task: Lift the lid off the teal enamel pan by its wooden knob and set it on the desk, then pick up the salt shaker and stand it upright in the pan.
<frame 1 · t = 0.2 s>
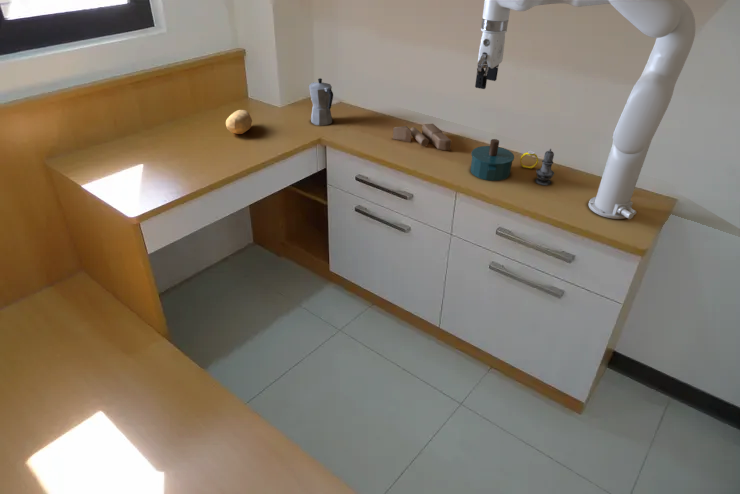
hand: (485, 84, 160), 31 cm above the table, tool pointing down, fingers open, 9 cm apart
pan: (489, 171, 179), on the table
potato: (240, 132, 205), on the table
pan lid: (492, 156, 176), point 6 cm above the table, touching pan
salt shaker: (542, 182, 174), on the table
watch: (527, 168, 182), on the table
wooden block set: (420, 144, 198), on the table
coffeepot: (323, 122, 215), on the table
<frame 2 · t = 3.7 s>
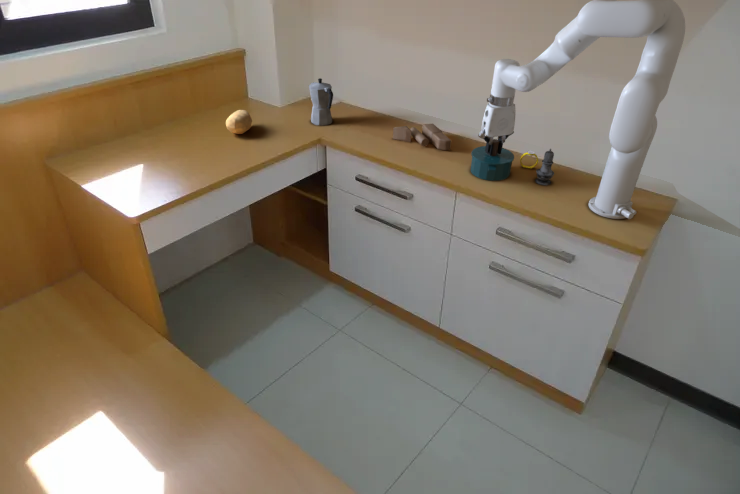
hand: (493, 152, 175), 7 cm above the table, tool pointing down, fingers closed on pan lid, 2 cm apart
pan lid: (492, 156, 176), point 6 cm above the table, touching gripper, pan
everything else where it was.
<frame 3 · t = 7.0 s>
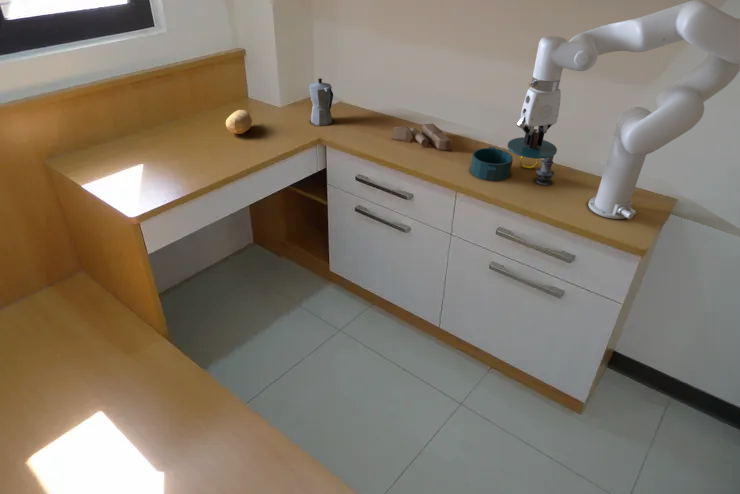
hand: (532, 144, 154), 18 cm above the table, tool pointing down, fingers closed on pan lid, 2 cm apart
pan lid: (531, 148, 155), point 17 cm above the table, touching gripper
everything else where it was.
when the fingers open (2 cm above the table, at t = 10.2 s): pan lid stays where it is, point 1 cm above the table.
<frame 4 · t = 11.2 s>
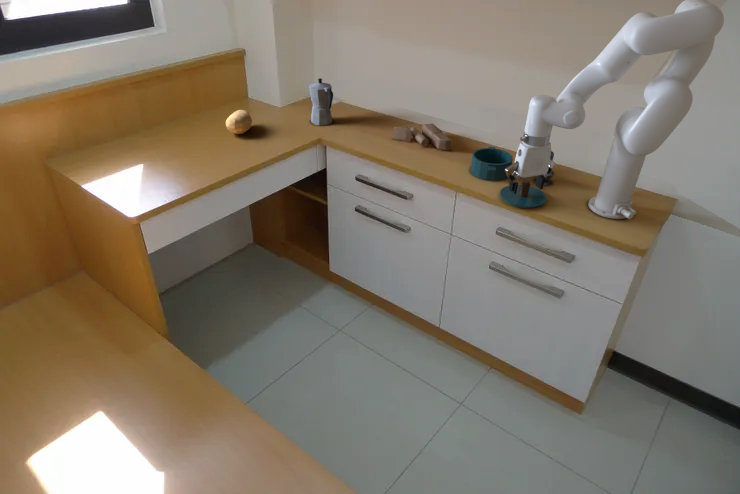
hand: (525, 189, 162), 3 cm above the table, tool pointing down, fingers open, 9 cm apart
pan lid: (522, 196, 163), point 1 cm above the table
everything else where it was.
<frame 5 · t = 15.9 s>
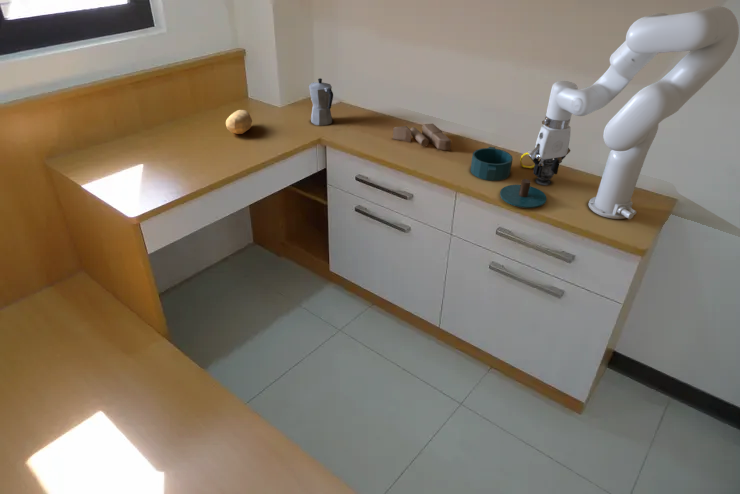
hand: (544, 173, 172), 3 cm above the table, tool pointing down, fingers closed on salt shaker, 5 cm apart
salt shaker: (542, 182, 174), on the table, touching gripper
everything else where it was.
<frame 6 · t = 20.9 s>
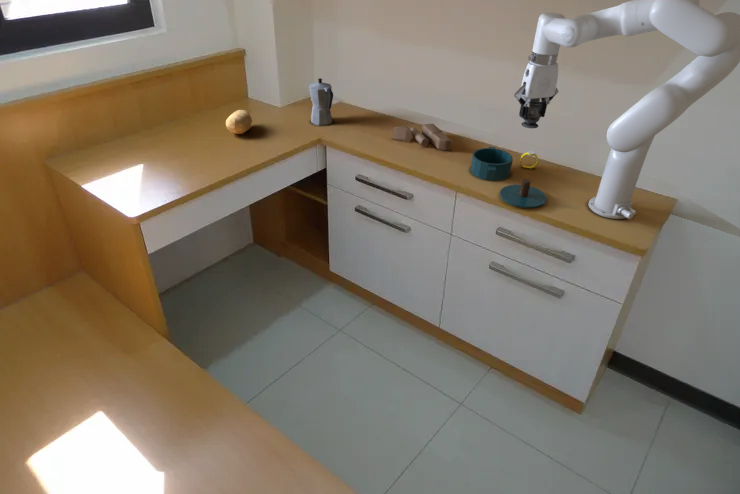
hand: (531, 116, 164), 22 cm above the table, tool pointing down, fingers closed on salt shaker, 5 cm apart
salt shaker: (529, 125, 165), point 18 cm above the table, touching gripper
everything else where it was.
when the fingers open (4 cm above the table, at t = 26.4 s): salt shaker stays where it is, resting on pan.
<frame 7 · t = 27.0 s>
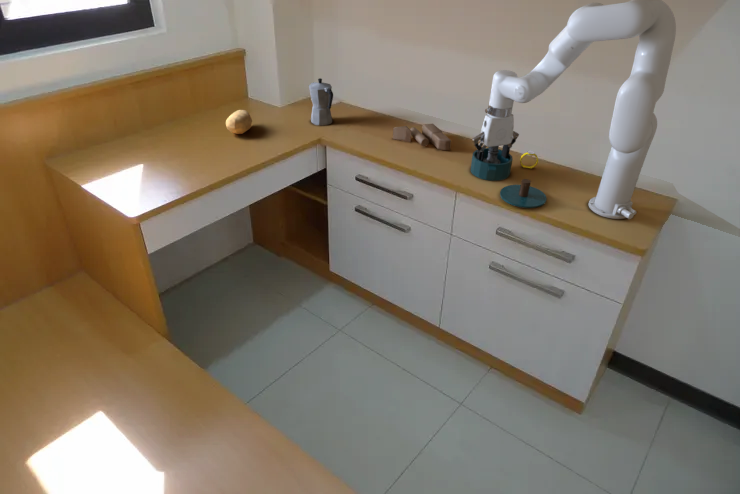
hand: (492, 159, 176), 5 cm above the table, tool pointing down, fingers open, 9 cm apart
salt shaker: (490, 171, 179), resting on pan
everything else where it was.
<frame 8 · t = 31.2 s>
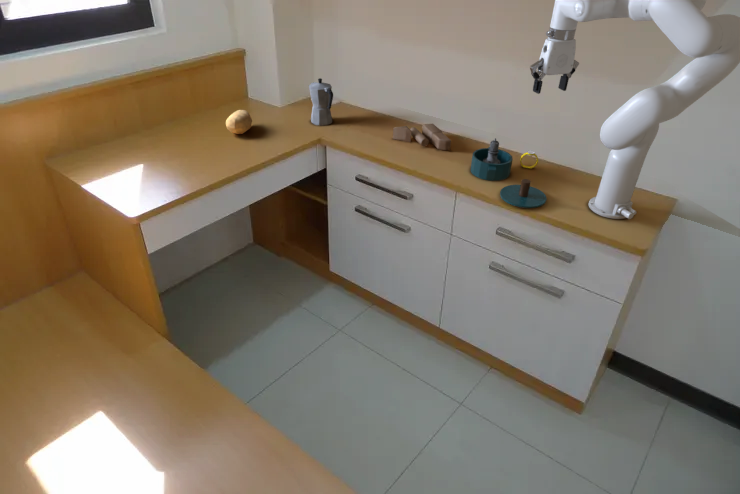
hand: (549, 91, 164), 28 cm above the table, tool pointing down, fingers open, 9 cm apart
nothing on the table moved.
at the end: pan lid inside the target area (0.3 cm from its centre), point 0.6 cm above the table; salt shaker 0.0 cm off-centre in the pan, point 0.3 cm above the pan's base; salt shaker tilted 0° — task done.
